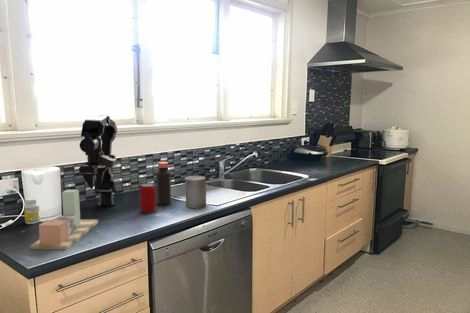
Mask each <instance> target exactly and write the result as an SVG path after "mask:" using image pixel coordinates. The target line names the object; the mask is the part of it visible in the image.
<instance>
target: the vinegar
mask: <svg viewBox="0 0 470 313" xmlns="http://www.w3.org/2000/svg"><path fill="white" fill-rule="evenodd" d="M157 168H158V170H157V171H156V173H155V185H156V186H155V191H156V205H159V206H167V205H170V204H171V203H172V191H171V190H172V188H171V186H172V184H171V183H172V182H171V181H172V179H171V178H172V177H171V171H170V170H169V162H168V161H159V162H157Z"/></svg>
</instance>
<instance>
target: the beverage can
mask: <svg viewBox="0 0 470 313" xmlns="http://www.w3.org/2000/svg"><path fill="white" fill-rule="evenodd" d="M139 200H140V211H141V212H143V213H152V212H154V211H155V210H156V209H157V193H156V186H155V184H153V183H142V184H141V186H140V188H139Z"/></svg>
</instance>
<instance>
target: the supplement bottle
mask: <svg viewBox="0 0 470 313" xmlns="http://www.w3.org/2000/svg"><path fill="white" fill-rule="evenodd" d="M36 203H37V202H36V199H28V198H26V199H25V204H24V207H23V209H24V210H23V211H24V222H25V224H27V225H32V224H37V223H39V222H40V221H41V215H40V216H39V211H40V205H39V206H38V205H37V204H36Z"/></svg>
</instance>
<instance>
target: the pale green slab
mask: <svg viewBox="0 0 470 313" xmlns="http://www.w3.org/2000/svg"><path fill="white" fill-rule="evenodd" d="M61 194H62V198H61V199H62V216H76V228H77V227H79V226H80V225H81V224H80V219H81V210H80V209H81V207H80V191H79V189H65V190H64V191H62V192H61Z"/></svg>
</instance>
